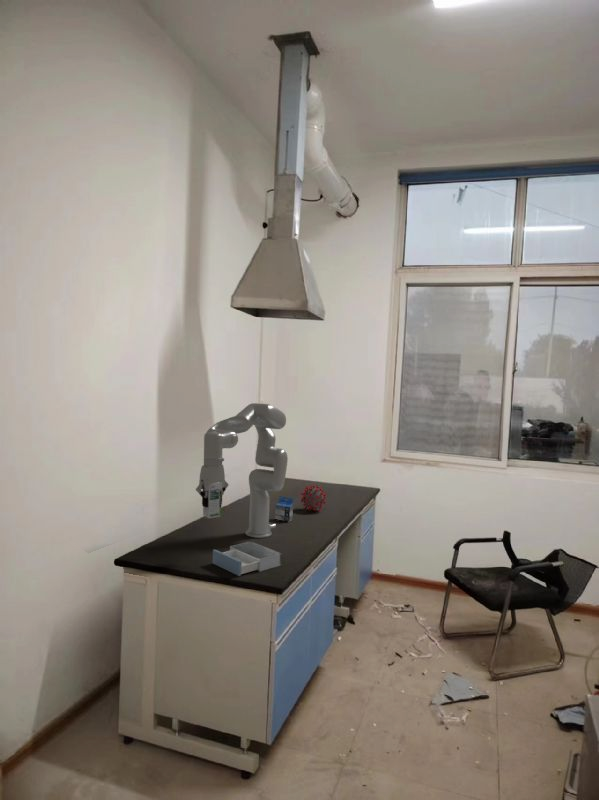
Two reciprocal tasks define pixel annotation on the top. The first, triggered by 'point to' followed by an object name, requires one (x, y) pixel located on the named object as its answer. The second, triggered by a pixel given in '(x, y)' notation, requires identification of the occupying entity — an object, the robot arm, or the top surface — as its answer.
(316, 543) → the top surface
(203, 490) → the robot arm
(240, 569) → the tray
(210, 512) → the syrup box
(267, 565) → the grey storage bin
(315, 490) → the virus model
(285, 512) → the label tape cartridge
